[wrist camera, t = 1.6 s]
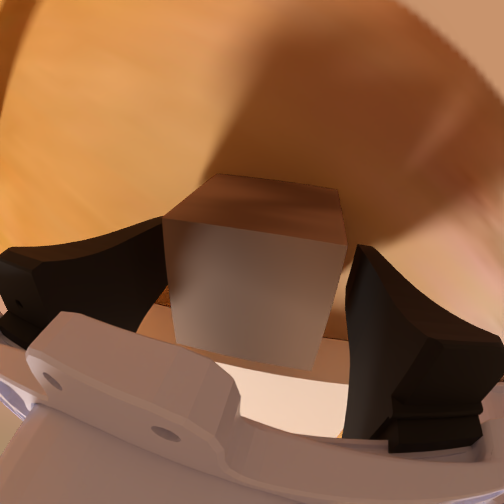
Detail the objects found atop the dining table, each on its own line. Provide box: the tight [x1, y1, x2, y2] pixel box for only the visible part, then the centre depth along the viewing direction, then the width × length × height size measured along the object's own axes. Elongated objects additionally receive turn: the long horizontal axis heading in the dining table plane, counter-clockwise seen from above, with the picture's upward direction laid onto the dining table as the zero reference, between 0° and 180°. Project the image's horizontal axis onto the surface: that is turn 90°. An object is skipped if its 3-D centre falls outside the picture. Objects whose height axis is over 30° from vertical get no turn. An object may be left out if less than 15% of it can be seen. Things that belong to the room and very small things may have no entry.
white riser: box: [136, 304, 350, 438], centre depth 17 cm, size 14×12×3 cm
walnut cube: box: [162, 174, 348, 371], centre depth 11 cm, size 5×5×5 cm
